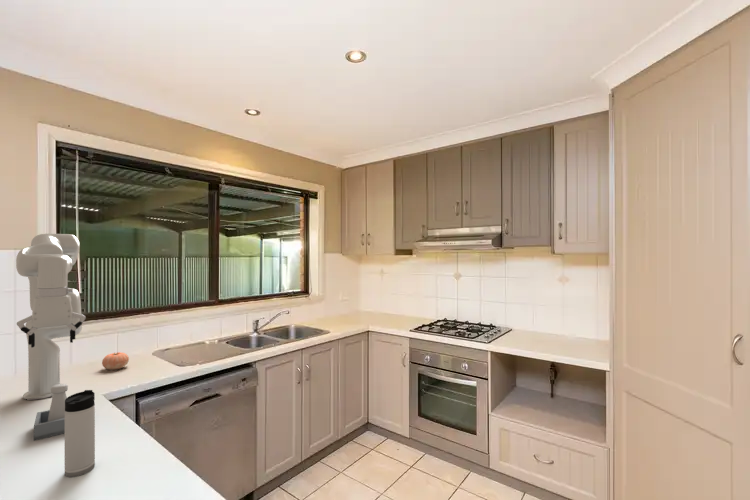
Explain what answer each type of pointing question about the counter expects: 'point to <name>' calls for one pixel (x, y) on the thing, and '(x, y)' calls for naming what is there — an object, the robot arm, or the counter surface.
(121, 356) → the orange pumpkin
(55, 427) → the box
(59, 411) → the salt shaker
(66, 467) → the travel mug
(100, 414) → the counter surface
